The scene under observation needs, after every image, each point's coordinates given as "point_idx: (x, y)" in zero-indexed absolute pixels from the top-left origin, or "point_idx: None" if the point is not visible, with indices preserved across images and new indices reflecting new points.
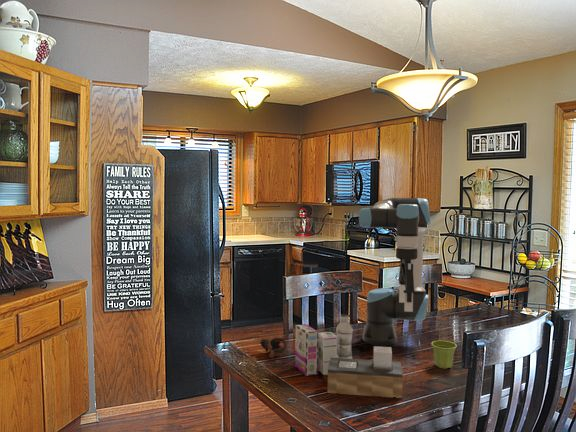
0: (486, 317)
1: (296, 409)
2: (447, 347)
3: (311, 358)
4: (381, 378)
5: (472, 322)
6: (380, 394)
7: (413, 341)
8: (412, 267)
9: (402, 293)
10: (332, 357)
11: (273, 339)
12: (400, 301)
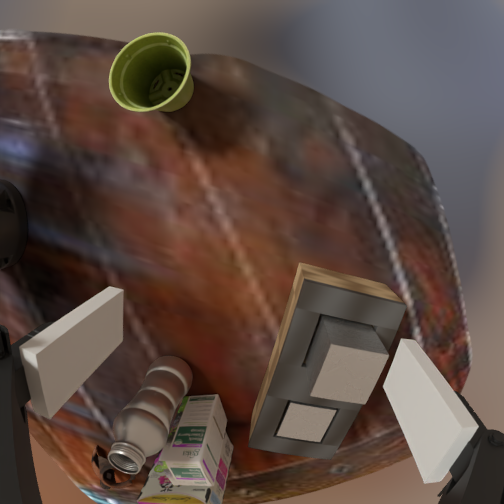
0: None
1: (378, 462)
2: (134, 60)
3: (224, 465)
4: None
5: None
6: None
7: (7, 135)
8: None
9: (86, 353)
10: (214, 429)
11: (107, 481)
12: (119, 336)
